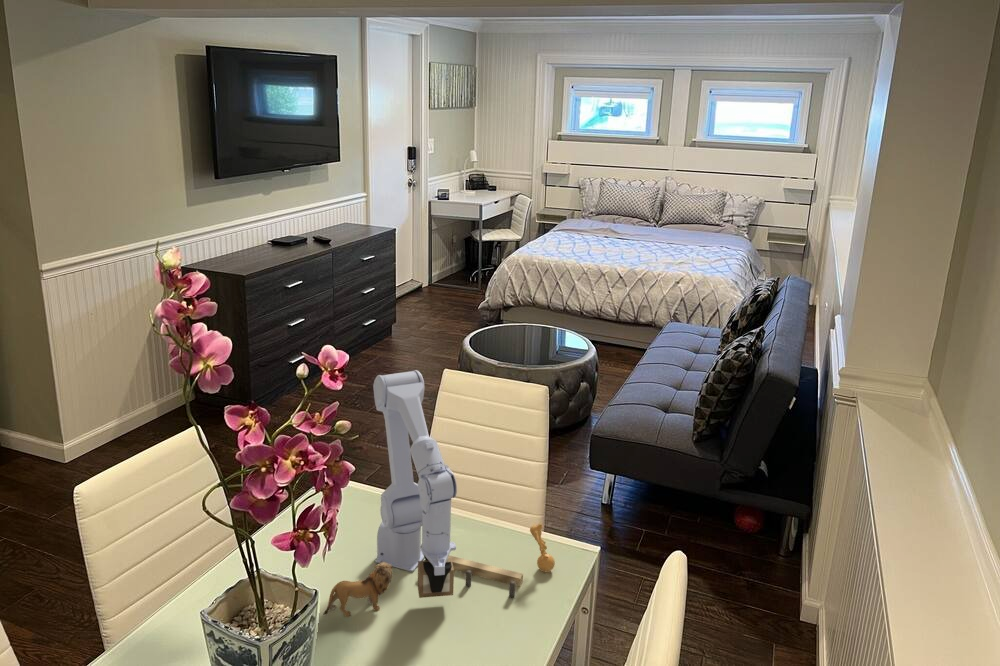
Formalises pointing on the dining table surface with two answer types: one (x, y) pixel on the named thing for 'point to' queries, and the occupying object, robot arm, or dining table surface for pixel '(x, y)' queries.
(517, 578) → the ledge
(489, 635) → the dining table surface
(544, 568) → the figurine
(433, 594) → the wooden box
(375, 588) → the lion figurine
